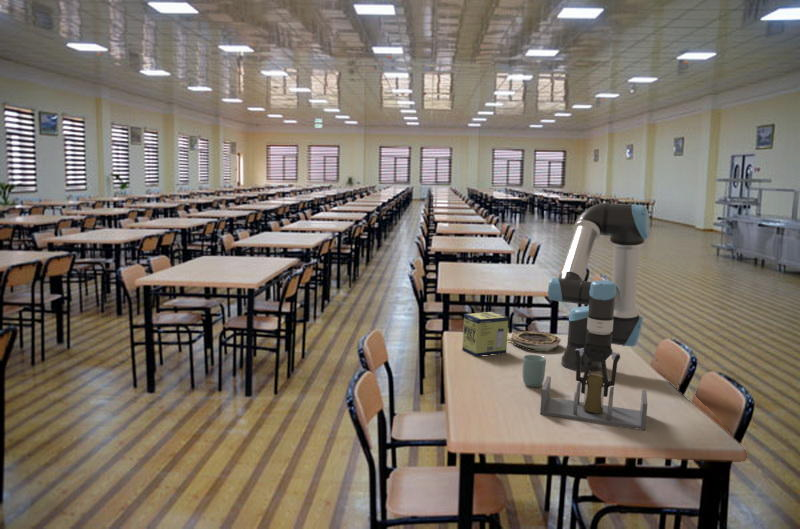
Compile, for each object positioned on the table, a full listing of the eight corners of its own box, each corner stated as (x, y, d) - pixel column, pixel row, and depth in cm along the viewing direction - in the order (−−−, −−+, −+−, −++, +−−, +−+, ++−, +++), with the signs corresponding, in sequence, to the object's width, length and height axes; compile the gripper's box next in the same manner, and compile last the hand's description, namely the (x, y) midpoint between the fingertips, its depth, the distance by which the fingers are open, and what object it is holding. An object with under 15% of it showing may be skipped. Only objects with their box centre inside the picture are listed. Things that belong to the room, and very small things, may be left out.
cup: (544, 390, 222) (546, 362, 221) (521, 387, 224) (523, 359, 222) (543, 383, 230) (545, 355, 228) (521, 380, 231) (523, 353, 230)
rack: (540, 414, 200) (541, 389, 198) (545, 399, 213) (547, 376, 212) (644, 430, 190) (647, 404, 189) (644, 414, 203) (646, 389, 202)
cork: (587, 412, 198) (590, 378, 196) (579, 405, 204) (582, 372, 202) (606, 412, 198) (609, 378, 197) (598, 405, 204) (601, 372, 203)
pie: (567, 341, 290) (568, 331, 289) (569, 359, 263) (570, 347, 263) (504, 336, 296) (505, 325, 295) (500, 352, 269) (501, 341, 269)
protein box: (461, 350, 268) (463, 313, 266) (492, 347, 275) (494, 311, 273) (475, 357, 259) (477, 319, 257) (507, 353, 266) (509, 316, 264)
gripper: (569, 331, 197) (563, 404, 200) (629, 337, 191) (622, 413, 195) (571, 325, 204) (566, 396, 207) (629, 332, 198) (622, 405, 202)
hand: (593, 404), depth 201 cm, fingers closed on cork, 4 cm apart
